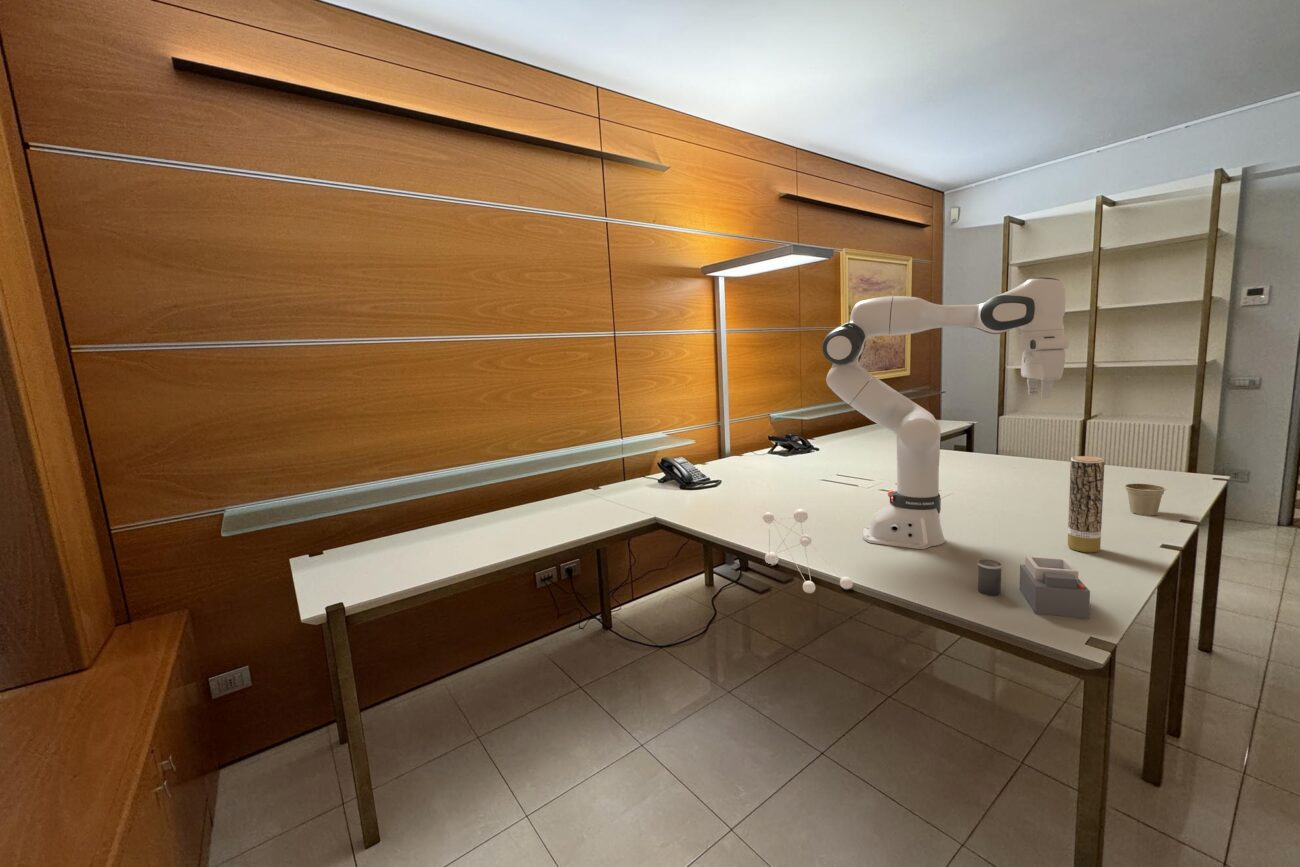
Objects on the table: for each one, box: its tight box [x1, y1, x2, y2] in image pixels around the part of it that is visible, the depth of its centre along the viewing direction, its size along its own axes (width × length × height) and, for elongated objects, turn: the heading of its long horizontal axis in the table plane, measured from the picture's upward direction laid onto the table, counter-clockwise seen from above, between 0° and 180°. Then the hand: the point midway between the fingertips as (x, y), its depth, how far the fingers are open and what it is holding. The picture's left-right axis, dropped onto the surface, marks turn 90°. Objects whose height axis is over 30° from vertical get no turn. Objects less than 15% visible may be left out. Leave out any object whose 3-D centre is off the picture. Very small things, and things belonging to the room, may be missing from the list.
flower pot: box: [1124, 482, 1167, 517], centre depth 161 cm, size 9×9×9 cm
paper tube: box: [1067, 455, 1106, 554], centre depth 136 cm, size 7×7×25 cm
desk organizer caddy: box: [1018, 555, 1091, 620], centre depth 110 cm, size 12×9×8 cm
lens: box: [977, 558, 1003, 597], centre depth 117 cm, size 5×5×7 cm
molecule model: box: [762, 508, 854, 594], centre depth 131 cm, size 14×25×18 cm, turn 24°
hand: (1038, 396), depth 131 cm, fingers open, 8 cm apart
